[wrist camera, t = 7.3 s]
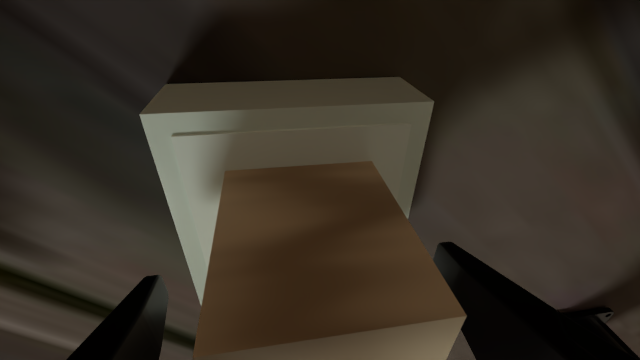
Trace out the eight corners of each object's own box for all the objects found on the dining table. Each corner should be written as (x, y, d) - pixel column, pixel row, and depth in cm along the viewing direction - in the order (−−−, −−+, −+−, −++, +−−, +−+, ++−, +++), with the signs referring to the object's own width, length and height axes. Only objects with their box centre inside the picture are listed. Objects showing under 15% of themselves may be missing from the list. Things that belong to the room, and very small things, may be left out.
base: (399, 76, 13) (435, 102, 10) (374, 238, 17) (394, 283, 15) (165, 84, 11) (138, 115, 9) (210, 256, 16) (201, 309, 14)
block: (371, 160, 11) (466, 315, 6) (359, 259, 14) (416, 421, 9) (225, 170, 10) (192, 357, 5) (242, 273, 13) (233, 459, 8)
